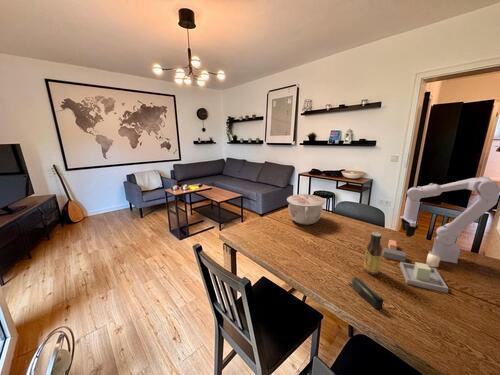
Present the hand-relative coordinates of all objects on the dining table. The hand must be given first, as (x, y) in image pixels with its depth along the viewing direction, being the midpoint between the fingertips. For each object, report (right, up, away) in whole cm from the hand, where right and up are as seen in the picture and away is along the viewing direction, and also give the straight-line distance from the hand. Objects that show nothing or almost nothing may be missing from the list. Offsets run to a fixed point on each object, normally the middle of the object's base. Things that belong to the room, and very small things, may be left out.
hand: (406, 233), depth 114 cm
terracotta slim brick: (-6, -9, +3) cm, 11 cm away
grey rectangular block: (-11, -12, -5) cm, 17 cm away
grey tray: (-9, -16, -21) cm, 28 cm away
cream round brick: (+4, -13, -12) cm, 18 cm away
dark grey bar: (-40, -19, -30) cm, 53 cm away
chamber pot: (-45, 0, +41) cm, 61 cm away
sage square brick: (-10, -15, -21) cm, 27 cm away
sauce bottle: (-29, -15, -15) cm, 36 cm away
